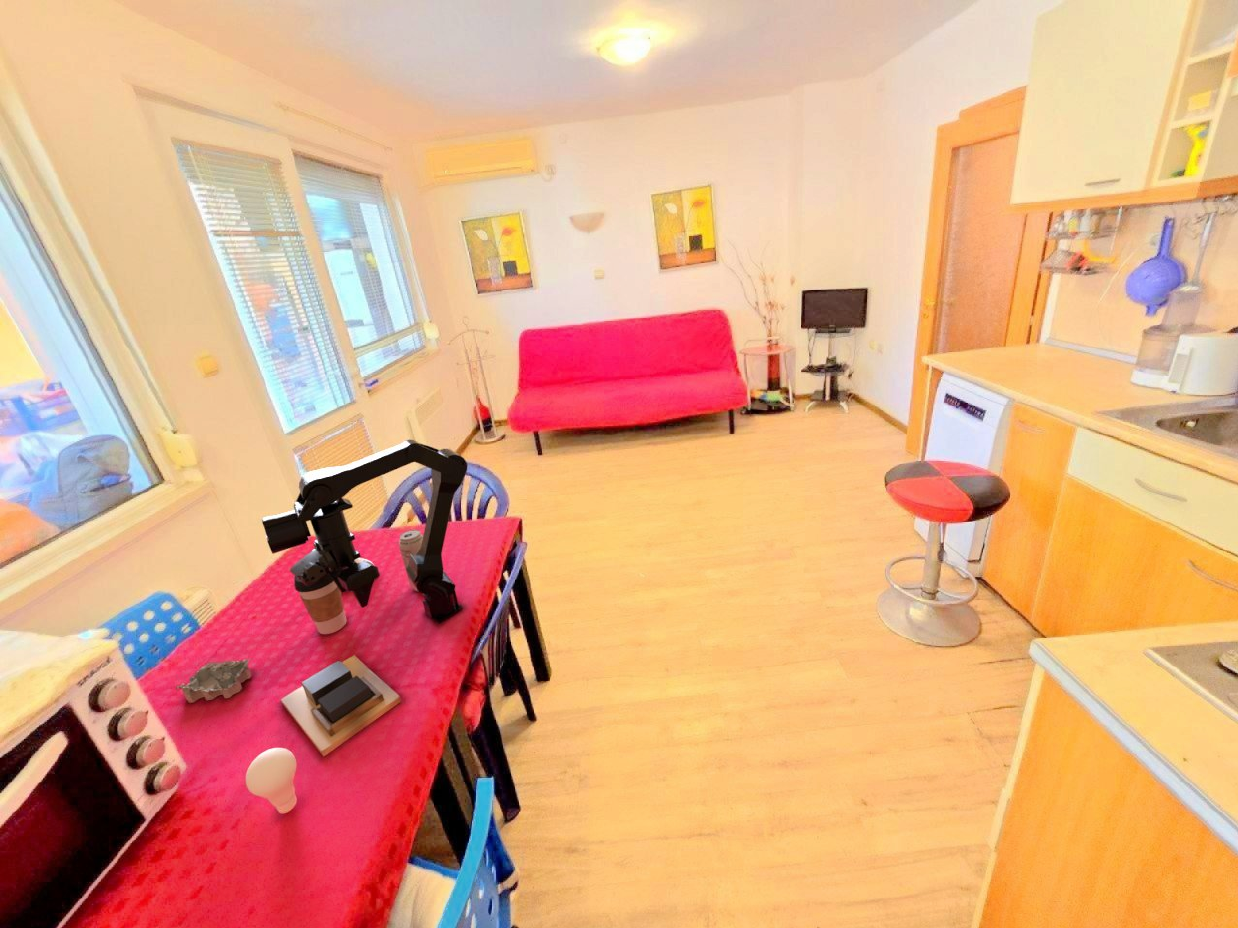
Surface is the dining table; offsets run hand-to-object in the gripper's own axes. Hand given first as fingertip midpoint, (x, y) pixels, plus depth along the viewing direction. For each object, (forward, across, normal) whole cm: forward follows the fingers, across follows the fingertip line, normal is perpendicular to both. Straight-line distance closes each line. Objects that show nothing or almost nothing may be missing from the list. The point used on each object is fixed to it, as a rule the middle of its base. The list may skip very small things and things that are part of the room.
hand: (354, 598), depth 105 cm
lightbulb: (+12, +26, -25) cm, 38 cm away
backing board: (+12, +12, -11) cm, 20 cm away
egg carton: (+12, -14, -24) cm, 30 cm away
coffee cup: (+12, -14, -2) cm, 19 cm away
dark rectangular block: (+11, +16, -11) cm, 22 cm away
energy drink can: (+12, -10, +19) cm, 25 cm away
